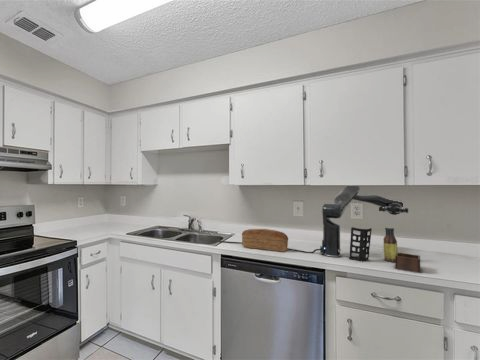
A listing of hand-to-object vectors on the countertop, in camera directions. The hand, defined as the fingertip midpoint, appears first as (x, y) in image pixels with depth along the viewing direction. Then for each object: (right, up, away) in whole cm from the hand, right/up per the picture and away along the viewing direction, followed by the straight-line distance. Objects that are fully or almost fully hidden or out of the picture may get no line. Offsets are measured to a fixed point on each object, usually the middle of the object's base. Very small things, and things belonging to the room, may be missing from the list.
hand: (392, 210), depth 167 cm
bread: (-73, -30, +21) cm, 81 cm away
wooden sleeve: (-11, -29, -22) cm, 38 cm away
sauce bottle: (-8, -30, -8) cm, 32 cm away
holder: (-25, -30, -6) cm, 39 cm away
